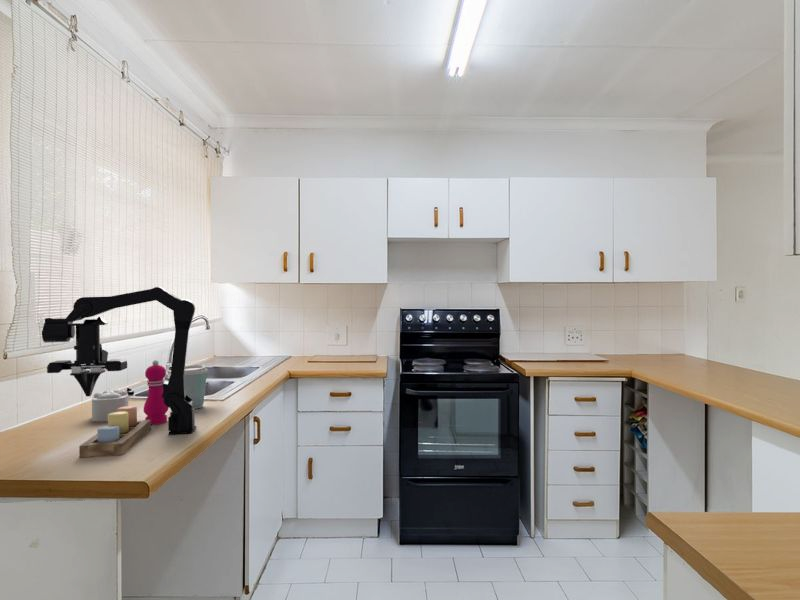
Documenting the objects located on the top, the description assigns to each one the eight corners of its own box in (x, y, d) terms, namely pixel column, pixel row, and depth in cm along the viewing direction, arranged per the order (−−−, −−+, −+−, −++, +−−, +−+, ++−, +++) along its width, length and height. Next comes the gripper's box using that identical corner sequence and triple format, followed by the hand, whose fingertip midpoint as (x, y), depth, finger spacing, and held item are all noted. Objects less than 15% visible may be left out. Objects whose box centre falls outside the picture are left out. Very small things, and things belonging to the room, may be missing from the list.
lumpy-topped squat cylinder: (90, 423, 158) (89, 396, 158) (95, 414, 170) (95, 389, 170) (126, 419, 163) (126, 393, 163) (129, 410, 175) (129, 386, 174)
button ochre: (131, 428, 141) (131, 411, 140) (124, 433, 136) (124, 415, 136) (112, 429, 140) (111, 412, 140) (105, 434, 135) (104, 416, 135)
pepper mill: (138, 423, 158) (137, 361, 157) (158, 418, 164) (158, 358, 164) (153, 426, 154) (152, 362, 154) (173, 420, 161) (172, 359, 160)
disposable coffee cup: (201, 410, 174) (200, 368, 173) (170, 411, 174) (170, 368, 174) (212, 404, 184) (212, 364, 184) (184, 404, 184) (183, 364, 184)
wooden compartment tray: (151, 429, 150) (150, 419, 150) (122, 454, 127) (122, 443, 127) (115, 431, 149) (115, 421, 148) (79, 457, 125) (79, 445, 125)
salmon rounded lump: (139, 422, 147) (139, 405, 147) (133, 426, 143) (133, 409, 142) (121, 423, 147) (120, 406, 146) (114, 427, 142) (114, 410, 142)
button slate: (122, 443, 134) (122, 425, 134) (115, 449, 129) (115, 430, 129) (102, 444, 133) (101, 426, 133) (94, 450, 128) (94, 431, 128)
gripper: (133, 337, 149) (134, 389, 149) (65, 339, 146) (65, 391, 146) (119, 341, 138) (120, 397, 138) (45, 343, 135) (46, 399, 135)
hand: (88, 396), depth 140 cm, fingers closed
